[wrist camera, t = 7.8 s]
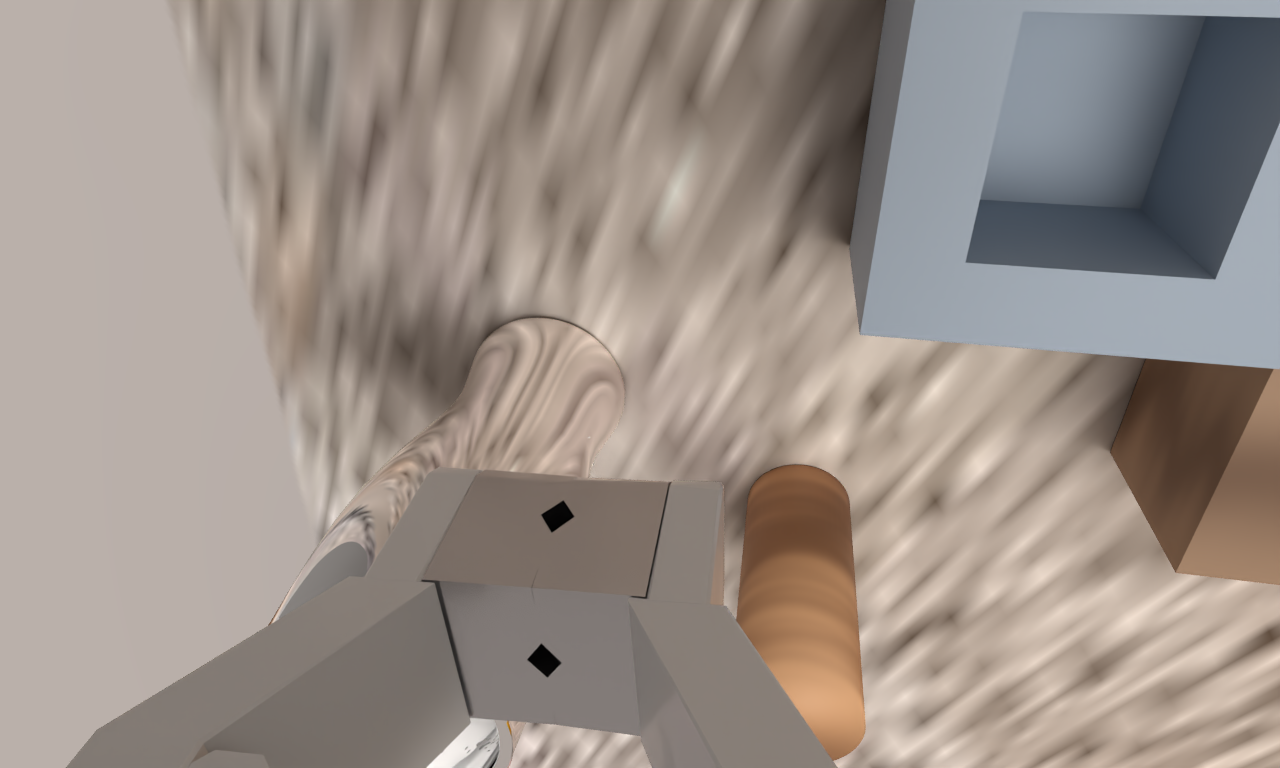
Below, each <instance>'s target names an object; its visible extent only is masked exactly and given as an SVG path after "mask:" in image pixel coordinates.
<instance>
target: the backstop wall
mask: <svg viewBox="0 0 1280 768" xmlns="http://www.w3.org/2000/svg"><path fill="white" fill-rule="evenodd" d="M1110 453H1111V454H1112V456H1113V458H1114V460H1115V462H1116V464H1117V466H1118V467H1119V469H1120V471H1121V473H1122V475H1123V477H1124V478H1125V480H1126V482H1127V484H1128V486H1129V488H1130V489H1131V491H1132V493H1133V495H1134V497H1135V499H1136V501H1137V502H1138V504H1139V506H1140V508H1141V510H1142V512H1143V513H1144V515H1145V517H1146V519H1147V521H1148V523H1149V524H1150V526H1151V528H1152V530H1153V532H1154V534H1155V536H1156V537H1157V539H1158V541H1159V543H1160V545H1161V547H1162V548H1163V550H1164V552H1165V554H1166V556H1167V558H1168V559H1169V561H1170V563H1171V565H1172V567H1173V569H1174V570H1175V572H1176V573H1183V574H1191V575H1200V576H1208V577H1217V578H1225V579H1234V580H1242V581H1251V582H1259V583H1267V584H1276V585H1280V369H1270V368H1258V367H1246V366H1234V365H1222V364H1209V363H1197V362H1185V361H1173V360H1161V359H1149V358H1146V360H1145V363H1144V365H1143V368H1142V371H1141V373H1140V376H1139V378H1138V381H1137V384H1136V386H1135V389H1134V392H1133V394H1132V397H1131V399H1130V402H1129V405H1128V407H1127V410H1126V412H1125V415H1124V418H1123V420H1122V423H1121V426H1120V428H1119V431H1118V433H1117V436H1116V439H1115V441H1114V444H1113V447H1112V449H1111V452H1110Z"/></svg>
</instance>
